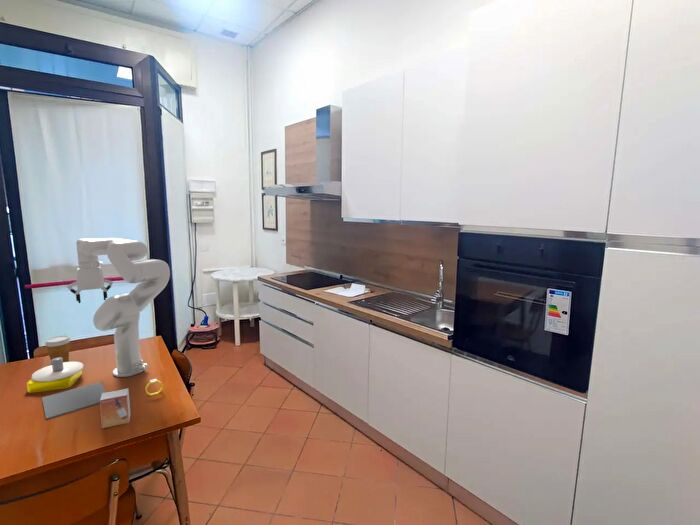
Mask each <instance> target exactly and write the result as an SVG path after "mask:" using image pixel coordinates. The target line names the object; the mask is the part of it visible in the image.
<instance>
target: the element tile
mask: <svg viewBox="0 0 700 525" xmlns="http://www.w3.org/2000/svg"><path fill="white" fill-rule="evenodd" d="M82 374H83V369H82V370H81V371H80V372H78V373H76V374H74V375H72V376H69V377H66V378H63V379H59V380H54V381H46V382H38V381H34V380H33V379H32V378H31V379H29V380H28V381H27V382H26V389H27V393H29V394H31V393H33V394H34V393H41V392H47V391H55V390H61V389H63V390H64V389H68V388H70V387H72V386H73V385H74V384H75V383H77V381H78V380H79V378H80V377H81V376H82Z"/></svg>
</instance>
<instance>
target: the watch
mask: <svg viewBox="0 0 700 525" xmlns="http://www.w3.org/2000/svg"><path fill="white" fill-rule="evenodd" d="M156 383H159V384H160V389H159V390H158V391H157V392H156V391H155V392H153V393H150V392H148V387H149V386H150V385H152V384H156ZM163 385H164V384H163V382H161V380H158V379H157V378H153V379H150V380H149V381H148V383H147V384H146V385H145V387H144V388H145V392H146V394H147V395H148V396H150V397H151V396H155V395H159V394H160V393H161V392H162V390H163V388H164V386H163Z"/></svg>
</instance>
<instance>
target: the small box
mask: <svg viewBox="0 0 700 525" xmlns="http://www.w3.org/2000/svg"><path fill="white" fill-rule="evenodd" d="M130 403H131V402H130V389H129V388H124V389H118V390H113V391H106V393H102V396H101V399H100V403H99V407H100V419H101V429H106V428H110V427H114V426H115V427H116V426H119V425H126V424H129V423H130V420H131V404H130Z"/></svg>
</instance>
